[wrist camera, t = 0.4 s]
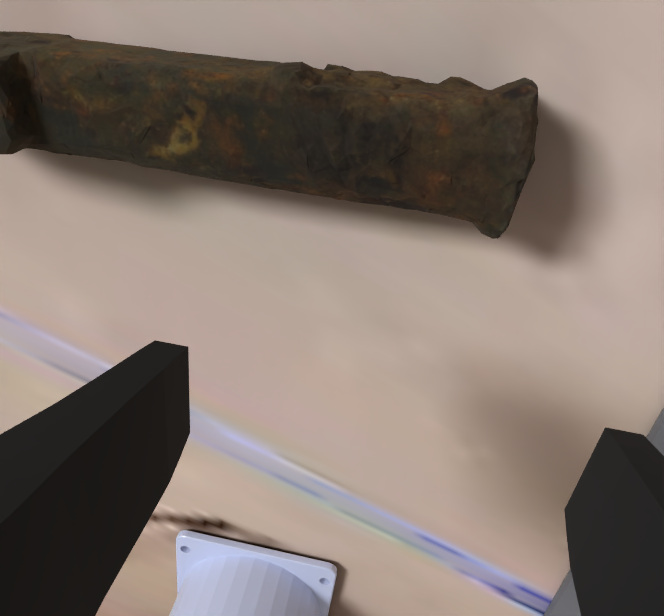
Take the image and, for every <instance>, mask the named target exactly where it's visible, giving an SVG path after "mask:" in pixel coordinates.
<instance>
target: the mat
mask: <svg viewBox="0 0 664 616" xmlns="http://www.w3.org/2000/svg"><path fill="white" fill-rule="evenodd" d="M647 439H648V440H649V441H650V442H651V443H652V444H653V445H654V446H655V447H656V448H657V449H658V451H659V452H660V453H661V454H662V455H663V456H664V408H663V410H662V412H661V414H660V415H659V417H658V419H657V421H656V422H655V424H654V426H653V427H652V429H651V431H650V433H649V434H648V436H647ZM544 616H581V613H580V608H579V604H578V600H577V595H576V591H575V587H574V582H573V578H572V573H571V569H570V571H569V572H568V574H567V576H566V578H565V579H564V581H563V583H562V585H561V586H560V588H559V590H558V591H557V593H556V595H555V597H554V598H553V600H552V602H551V604H550V605H549V607H548V609H547V610H546V612H545V614H544Z"/></svg>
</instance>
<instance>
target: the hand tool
mask: <svg viewBox="0 0 664 616" xmlns="http://www.w3.org/2000/svg"><path fill="white" fill-rule="evenodd" d="M537 101H538V87H537V85H536V84H535V83H534V82H533V81H532V80H529V79H527V78H522V79H519V80H517V81H514V82H511V83H507V84H505V85H503V86H500V87H498V88H495V89H493V90H485V89H483V88H481V87H479V86H477V85H475V84H473V83H472V82H469V81H467V80H465V79H463V78H460V77H450V78H448V79H446V80H444V81H443V82H441V83H439V84H434V83H425V82H423V81H421V80H419V79H412V78H405V77H399V76H391V75H388V74H386V73H383V72H379V71H353V70H351V69H349V68H346V67H343V66H337V65H330V64H328V65H327V66H326V68H325V69H324V70H322V69H316V68H313V67H311V66H309V65H307V64H305V63H303V62H291V63H280V62H272V61H255V60H246V59H238V58H230V57H221V56H213V55H204V54H194V53H185V52H176V51H167V50H161V49H156V48H149V47H140V46H131V45H120V44H112V43H106V42H97V41H87V40H79V39H74V38H72V37H70V36H69V35H62V34H49V33H31V32H0V154H14V153H16V152H18V151H20V150H22V149H24V148H33V149H40V150H47V151H50V152H53V153H60V154H68V155H79V156H88V157H96V158H102V159H109V160H120V161H126V162H130V163H133V164H136V165H139V166H143V167H152V168H158V169H164V170H170V171H176V172H181V173H185V174H190V175H196V176H201V177H206V178H212V179H218V180H224V181H230V182H236V183H243V184H249V185H254V186H260V187H265V188H271V189H281V190H287V191H292V192H298V193H304V194H311V195H317V196H324V197H331V198H335V199H339V200H346V201H353V202H361V203H370V204H378V205H387V206H393V207H398V208H403V209H411V210H419V211H424V212H429V213H436V214H442V215H446V216H450V217H454V218H458V219H462V220H466V221H470V222H473V224H474V225H475V226H476V227H477V228H478V230H479V231H480V232H481V233H483V234H485V235H487V236H489V237H491V238H499V237H500V235H501V234H502V233H503V232H504V231H505V230H506V228H507V227H508V225H509V222H510V220H511V217H512V214H513V212H514V209H515V207H516V204H517V201H518V199H519V196H520V193H521V191H522V188H523V186H524V183H525V181H526V178H527V176H528V174H529V172H530V170H531V167H532V165H533V163H534V161H535V156H534V146H535V137H536V127H537V124H538V118H537Z"/></svg>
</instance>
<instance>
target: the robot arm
mask: <svg viewBox="0 0 664 616" xmlns="http://www.w3.org/2000/svg"><path fill="white" fill-rule="evenodd" d="M189 434H190V412H189V362H188V347H186V346H181V345H176V344H171V343H166V342H160V341H154V342H152V343H150V344H149V345H147V346H145V347H144V348H142V349H140V350H139V351H137V352H136V353H134V354H133V355H131V356H130V357H128V358H126V359H125V360H123V361H122V362H120V363H119V364H117V365H116V366H114V367H113V368H111V369H109V370H108V371H106V372H105V373H103V374H102V375H100V376H99V377H97V378H95V379H94V380H92V381H91V382H89V383H87V384H86V385H84V386H83V387H81V388H79V389H78V390H76V391H75V392H73V393H71V394H70V395H68V396H67V397H65V398H63V399H62V400H60V401H58V402H57V403H55V404H53V405H52V406H50V407H48V408H46V409H45V410H43V411H41V412H39V413H38V414H36V415H34V416H32V417H31V418H29V419H27V420H25V421H23V422H22V423H20V424H18V425H16V426H15V427H13V428H11V429H9V430H8V431H6V432H4V433H2V434H0V616H95V615H96V613H97V611H98V609H99V607H100V605H101V603H102V601H103V599H104V597H105V596H106V594H107V592H108V590H109V589H110V587H111V585H112V583H113V582H114V580H115V578H116V576H117V575H118V573H119V571H120V569H121V568H122V566H123V564H124V562H125V561H126V559H127V557H128V555H129V553H130V552H131V550H132V548H133V546H134V545H135V543H136V541H137V539H138V538H139V536H140V534H141V532H142V531H143V529H144V527H145V525H146V524H147V522H148V520H149V518H150V517H151V515H152V513H153V511H154V509H155V508H156V506H157V504H158V502H159V500H160V499H161V497H162V495H163V493H164V491H165V490H166V488H167V486H168V484H169V482H170V480H171V477H172V475H173V473H174V470H175V468H176V466H177V463H178V461H179V459H180V456H181V454H182V451H183V449H184V446H185V444H186V441H187V439H188V436H189ZM565 519H566V531H567V542H568V551H569V560H570V568H571V573H572V578H573V582H574V587H575V591H576V595H577V600H578V604H579V608H580V613H581V616H664V456H663V455H662V454H661V453H660V452H659V451H658V449H657V448H656V447H655V446H654V445H653V444H652V443H651V442H650V441H649V440H648V439H647V438H646V437H645V436H644V435H641V434H636V433H631V432H626V431H621V430H616V429H610V428H605V429H604V431H603V433H602V435H601V437H600V439H599V441H598V443H597V445H596V447H595V449H594V451H593V453H592V455H591V457H590V459H589V461H588V463H587V465H586V467H585V469H584V471H583V473H582V475H581V477H580V479H579V481H578V483H577V486H576V488H575V490H574V492H573V494H572V496H571V498H570V500H569V502H568V504H567V506H566V508H565ZM176 559H177V590H178V596H177V598H176V601H175V603H174V605H173V608H172V610H171V613H170V615H169V616H328V613H329V608H330V604H331V599H332V594H333V590H334V585H335V581H336V576H337V568H336V566H335V565H333V564H332V563H329V562H325V561H320V560H316V559H311V558H307V557H303V556H298V555H294V554H289V553H285V552H281V551H276V550H272V549H267V548H263V547H259V546H254V545H250V544H245V543H241V542H237V541H232V540H228V539H223V538H219V537H215V536H210V535H206V534H201V533H197V532H193V531H188V530H184V531H180V532H179V534H178V536H177V538H176Z"/></svg>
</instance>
